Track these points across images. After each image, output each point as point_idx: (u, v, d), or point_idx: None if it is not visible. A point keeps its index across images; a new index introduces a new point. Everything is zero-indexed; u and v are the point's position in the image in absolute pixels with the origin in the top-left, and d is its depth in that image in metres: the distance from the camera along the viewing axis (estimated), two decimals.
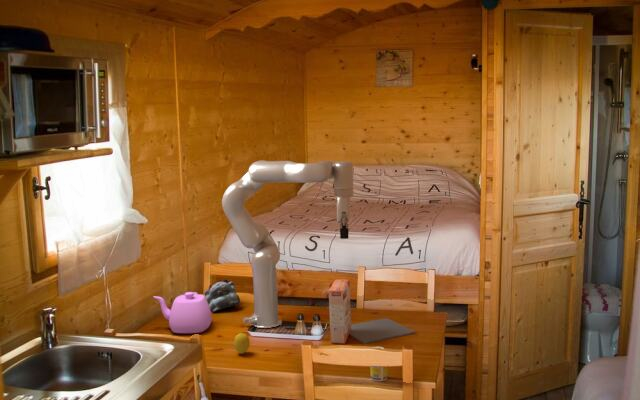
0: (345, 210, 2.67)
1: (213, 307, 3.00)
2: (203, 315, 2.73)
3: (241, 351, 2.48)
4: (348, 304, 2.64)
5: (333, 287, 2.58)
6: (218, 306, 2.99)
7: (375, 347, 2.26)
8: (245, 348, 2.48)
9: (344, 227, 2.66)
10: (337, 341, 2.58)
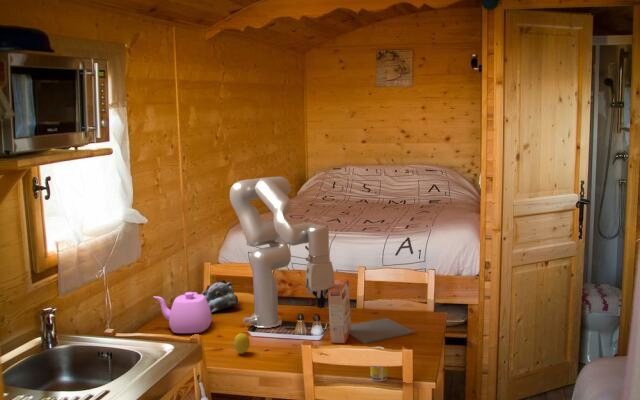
0: None
1: (211, 308, 2.99)
2: (203, 315, 2.73)
3: (241, 351, 2.48)
4: (347, 304, 2.64)
5: None
6: (216, 307, 2.98)
7: (375, 347, 2.26)
8: (245, 348, 2.48)
9: None
10: (337, 341, 2.58)
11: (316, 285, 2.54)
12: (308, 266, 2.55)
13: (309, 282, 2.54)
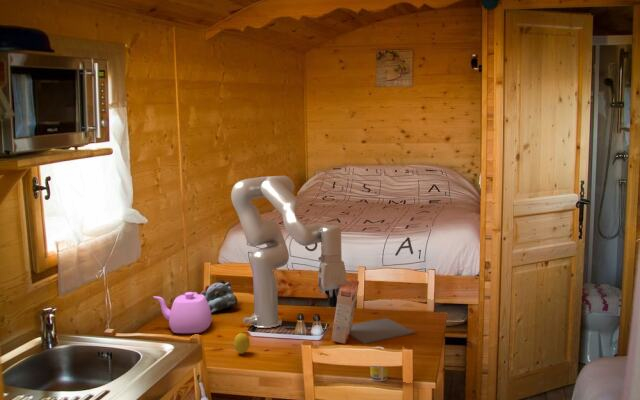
0: None
1: (211, 308, 2.98)
2: (203, 315, 2.73)
3: (241, 351, 2.48)
4: (354, 305, 2.63)
5: (343, 287, 2.57)
6: (216, 307, 2.97)
7: (375, 347, 2.26)
8: (245, 348, 2.48)
9: None
10: (338, 340, 2.58)
11: (328, 284, 2.56)
12: (320, 265, 2.57)
13: (321, 281, 2.56)
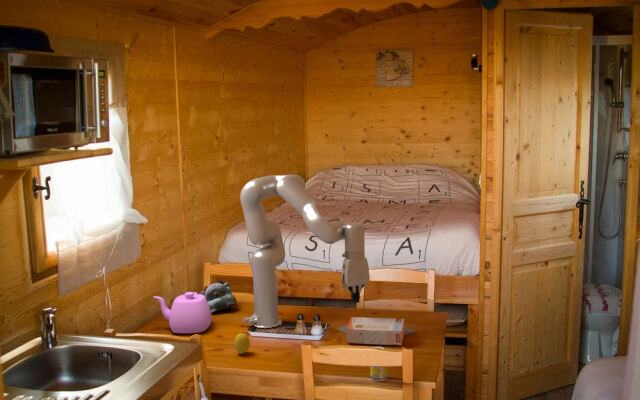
0: None
1: (210, 309, 2.97)
2: (203, 315, 2.73)
3: (241, 351, 2.48)
4: None
5: (402, 331, 2.56)
6: (215, 307, 2.97)
7: (375, 347, 2.26)
8: (245, 348, 2.48)
9: None
10: (348, 335, 2.57)
11: (352, 280, 2.61)
12: (344, 262, 2.62)
13: (345, 277, 2.61)
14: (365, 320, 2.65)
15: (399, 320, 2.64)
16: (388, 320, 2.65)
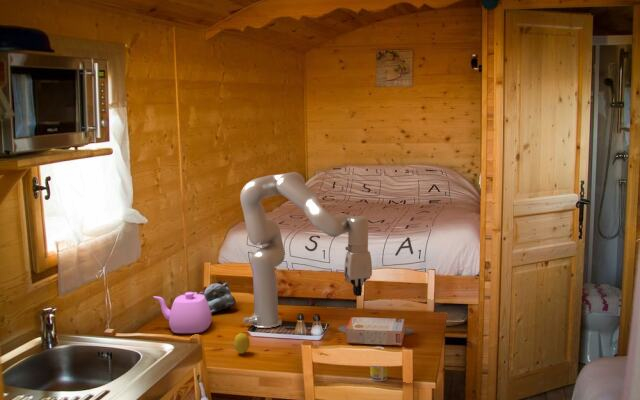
0: None
1: None
2: (203, 315, 2.73)
3: (241, 351, 2.48)
4: None
5: (402, 331, 2.56)
6: (214, 308, 2.96)
7: (375, 347, 2.26)
8: (245, 348, 2.48)
9: None
10: (348, 335, 2.57)
11: (355, 274, 2.62)
12: (347, 255, 2.62)
13: (348, 271, 2.62)
14: (365, 320, 2.65)
15: (399, 320, 2.64)
16: (388, 320, 2.65)
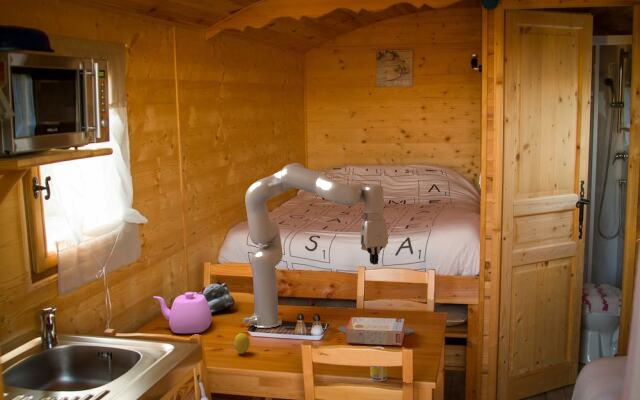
0: None
1: None
2: (203, 315, 2.73)
3: (241, 351, 2.48)
4: None
5: (402, 331, 2.56)
6: (214, 308, 2.96)
7: (375, 347, 2.26)
8: (245, 348, 2.48)
9: None
10: (348, 335, 2.57)
11: (371, 242, 2.63)
12: (363, 223, 2.64)
13: (364, 239, 2.63)
14: (365, 320, 2.65)
15: (399, 320, 2.64)
16: (388, 320, 2.65)
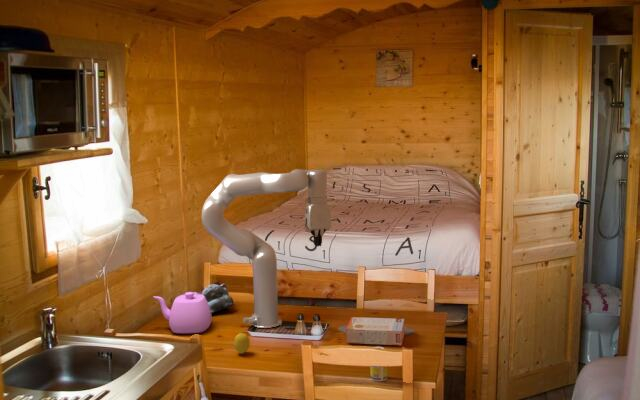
0: None
1: None
2: (203, 315, 2.73)
3: (241, 351, 2.48)
4: None
5: (402, 331, 2.56)
6: (213, 309, 2.95)
7: (375, 347, 2.26)
8: (245, 348, 2.48)
9: None
10: (348, 335, 2.57)
11: (314, 224, 2.76)
12: (307, 207, 2.76)
13: (308, 221, 2.75)
14: (365, 320, 2.65)
15: (399, 320, 2.64)
16: (388, 320, 2.65)
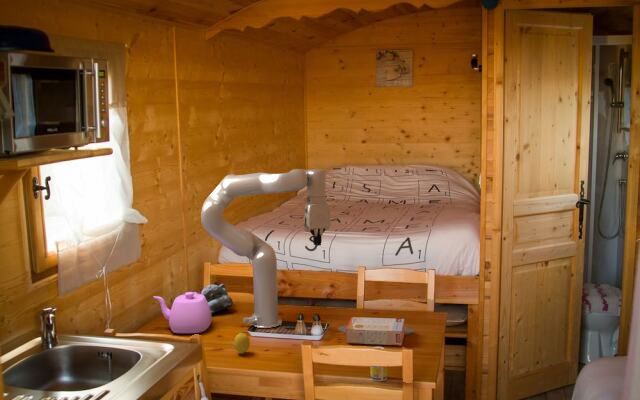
0: None
1: None
2: (203, 315, 2.73)
3: (241, 351, 2.48)
4: None
5: (402, 331, 2.56)
6: (212, 309, 2.95)
7: (375, 347, 2.26)
8: (245, 348, 2.48)
9: None
10: (348, 335, 2.57)
11: (313, 224, 2.76)
12: (306, 206, 2.76)
13: (307, 221, 2.76)
14: (365, 320, 2.65)
15: (399, 320, 2.64)
16: (388, 320, 2.65)
